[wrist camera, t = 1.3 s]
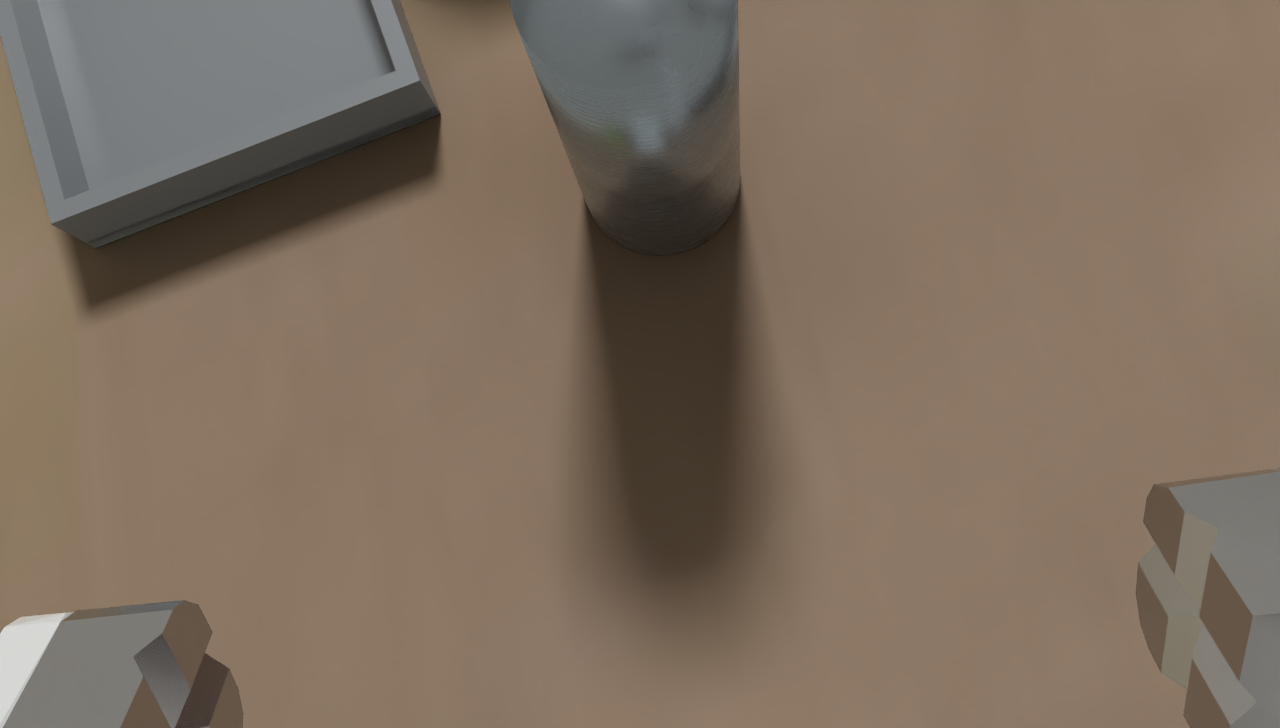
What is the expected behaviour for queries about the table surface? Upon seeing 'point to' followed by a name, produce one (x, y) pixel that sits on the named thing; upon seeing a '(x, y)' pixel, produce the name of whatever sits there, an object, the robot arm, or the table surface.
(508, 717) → the table surface
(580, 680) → the table surface
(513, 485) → the table surface
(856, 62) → the table surface
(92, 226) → the tray
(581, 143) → the canister
